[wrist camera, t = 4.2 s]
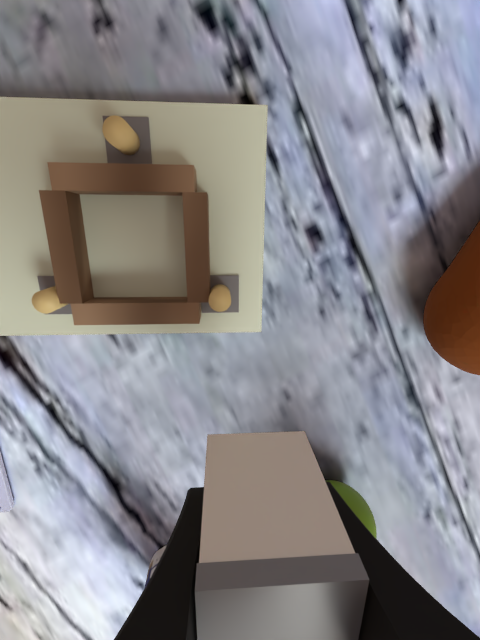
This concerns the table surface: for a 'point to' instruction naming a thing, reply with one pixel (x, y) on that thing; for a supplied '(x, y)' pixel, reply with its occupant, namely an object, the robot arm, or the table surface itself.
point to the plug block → (273, 545)
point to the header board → (133, 209)
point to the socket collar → (72, 248)
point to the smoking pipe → (457, 309)
